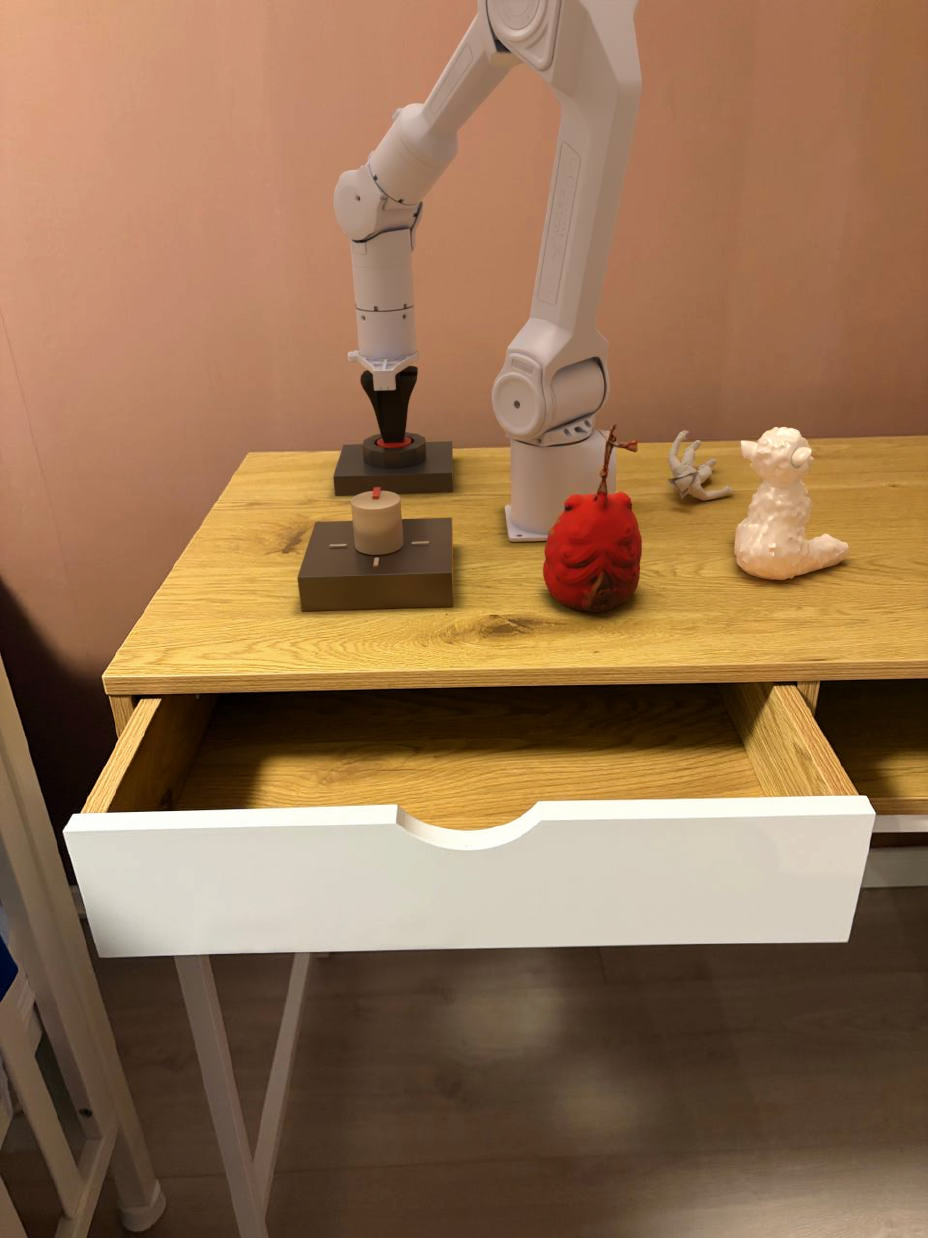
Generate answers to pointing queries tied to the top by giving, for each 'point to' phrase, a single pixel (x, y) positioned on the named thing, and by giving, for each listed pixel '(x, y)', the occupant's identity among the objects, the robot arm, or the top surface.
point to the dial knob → (377, 522)
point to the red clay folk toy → (595, 546)
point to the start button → (394, 445)
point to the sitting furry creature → (781, 512)
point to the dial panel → (378, 569)
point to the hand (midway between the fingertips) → (393, 440)
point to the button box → (395, 467)
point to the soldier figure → (691, 472)
